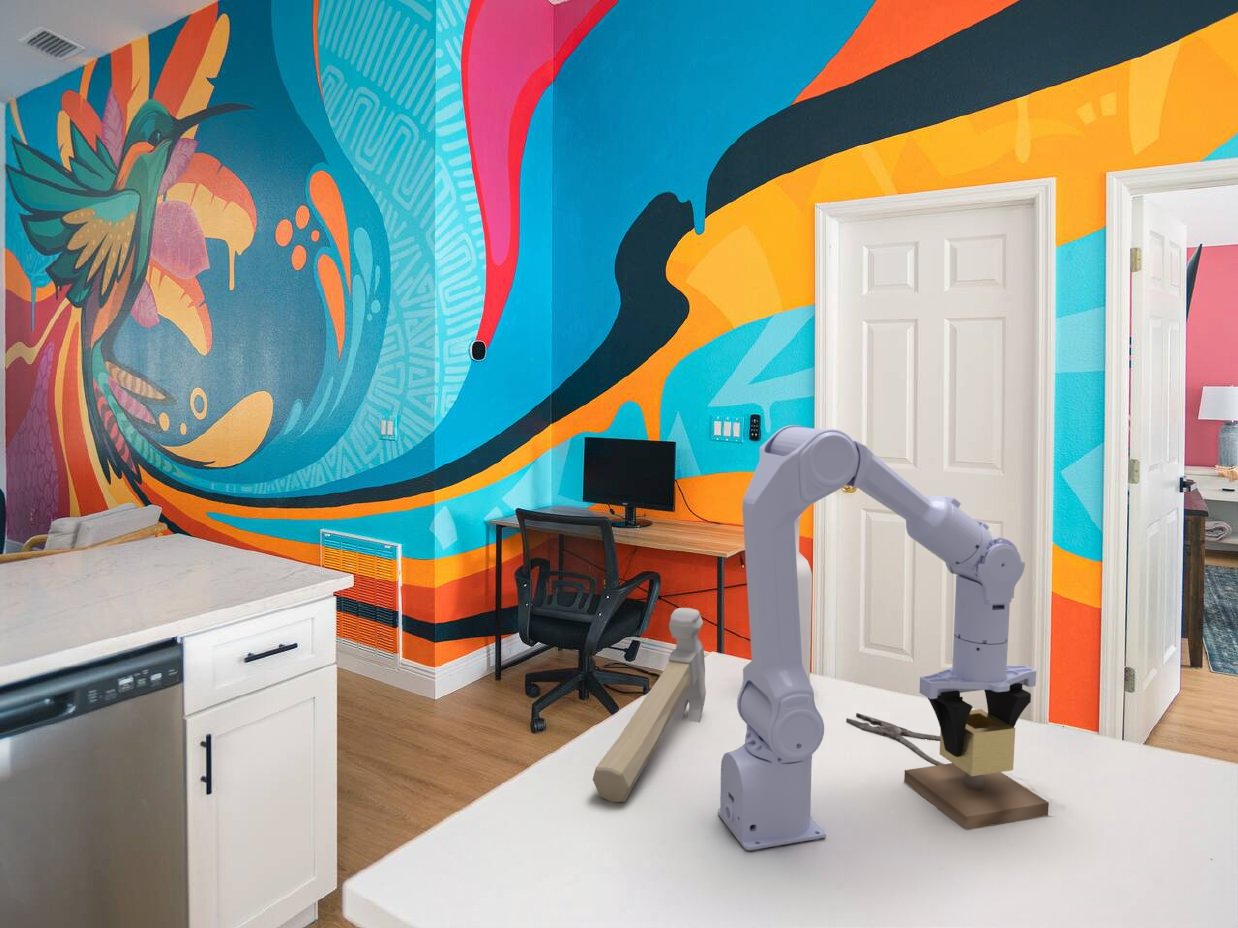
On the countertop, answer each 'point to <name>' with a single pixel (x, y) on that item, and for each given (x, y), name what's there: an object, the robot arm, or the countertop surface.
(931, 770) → the post board
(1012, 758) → the collar
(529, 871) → the countertop surface
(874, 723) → the pliers
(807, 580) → the bottle
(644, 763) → the hammer
